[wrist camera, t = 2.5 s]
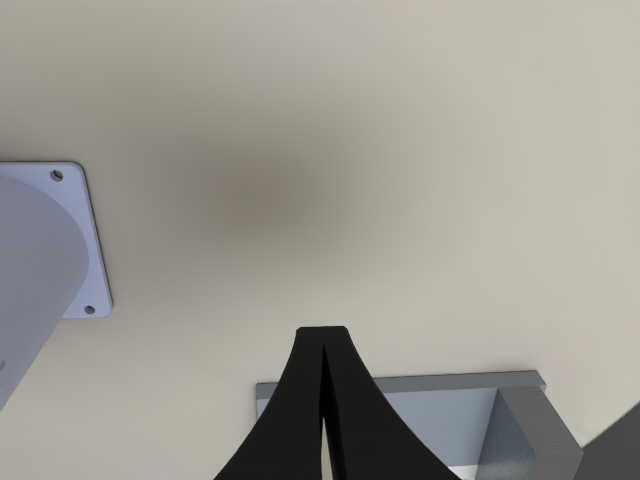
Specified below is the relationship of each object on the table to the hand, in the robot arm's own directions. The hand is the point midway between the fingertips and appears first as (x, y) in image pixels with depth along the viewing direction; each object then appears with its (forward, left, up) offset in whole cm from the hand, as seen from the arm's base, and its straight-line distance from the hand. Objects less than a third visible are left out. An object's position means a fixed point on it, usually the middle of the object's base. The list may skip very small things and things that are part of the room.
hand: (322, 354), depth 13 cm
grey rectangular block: (+13, -15, -9) cm, 22 cm away
